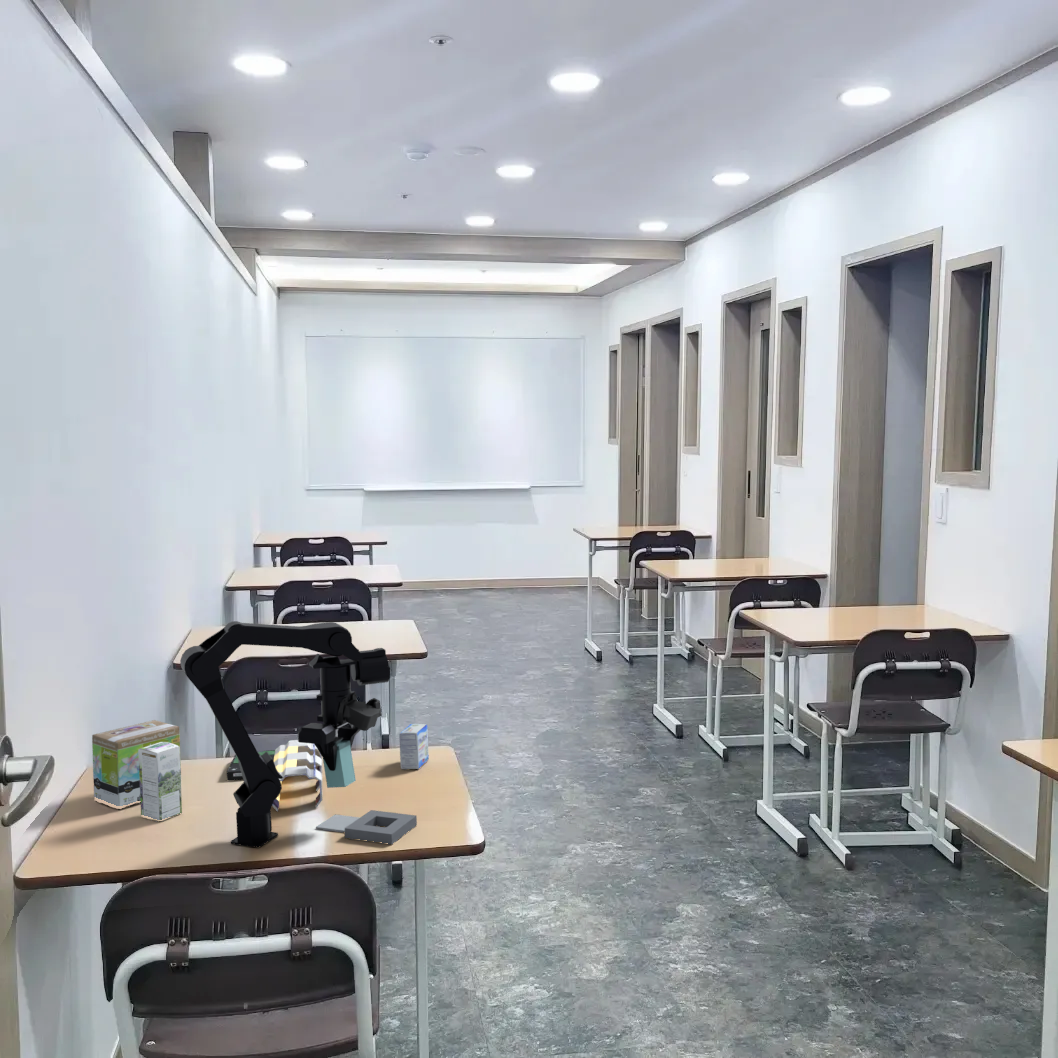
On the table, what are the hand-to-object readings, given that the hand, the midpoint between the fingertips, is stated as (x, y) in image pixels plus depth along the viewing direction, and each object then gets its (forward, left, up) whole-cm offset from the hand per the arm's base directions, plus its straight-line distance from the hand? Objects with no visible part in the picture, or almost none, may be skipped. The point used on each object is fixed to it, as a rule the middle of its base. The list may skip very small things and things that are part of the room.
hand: (338, 767), depth 199 cm
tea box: (+1, +50, -12) cm, 52 cm away
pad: (0, 0, -12) cm, 12 cm away
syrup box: (-7, +37, -12) cm, 40 cm away
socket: (-1, -10, -12) cm, 15 cm away
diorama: (+15, +20, -12) cm, 28 cm away
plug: (0, -1, -3) cm, 3 cm away
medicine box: (+38, +3, -12) cm, 40 cm away
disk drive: (+24, +38, -12) cm, 47 cm away
